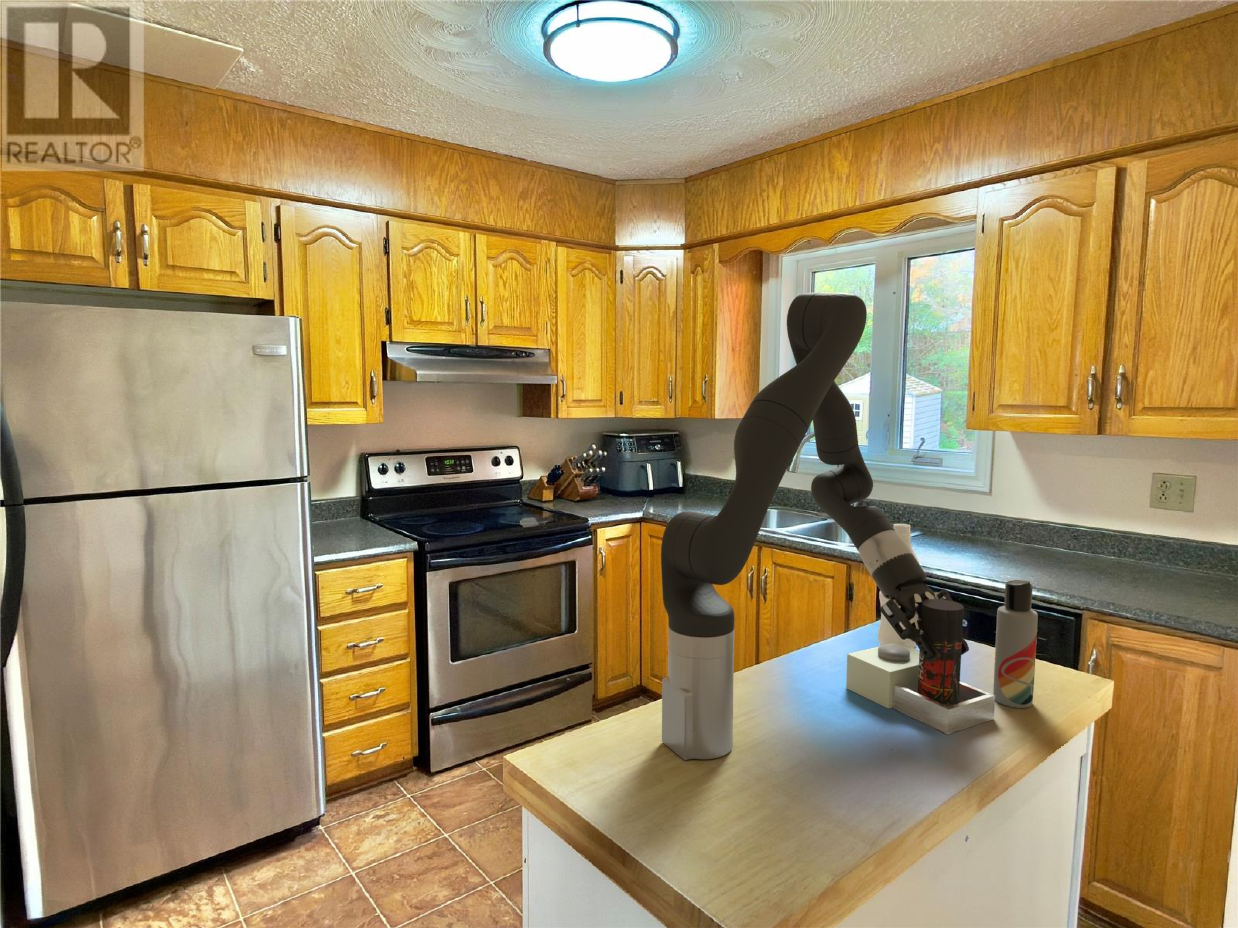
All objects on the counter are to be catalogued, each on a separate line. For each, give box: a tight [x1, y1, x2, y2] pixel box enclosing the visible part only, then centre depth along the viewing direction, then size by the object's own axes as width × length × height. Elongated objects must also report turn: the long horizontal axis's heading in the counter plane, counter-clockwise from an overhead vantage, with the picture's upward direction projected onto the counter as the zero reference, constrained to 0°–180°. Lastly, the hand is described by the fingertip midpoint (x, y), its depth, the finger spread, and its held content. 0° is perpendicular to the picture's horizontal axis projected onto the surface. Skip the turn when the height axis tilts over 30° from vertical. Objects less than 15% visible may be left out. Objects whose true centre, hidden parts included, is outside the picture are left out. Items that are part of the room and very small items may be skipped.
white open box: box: [891, 681, 996, 735], centre depth 111 cm, size 11×10×4 cm
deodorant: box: [918, 599, 965, 706], centre depth 111 cm, size 6×6×15 cm
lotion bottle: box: [992, 579, 1039, 709], centre depth 115 cm, size 6×6×20 cm
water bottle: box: [877, 523, 921, 650], centre depth 136 cm, size 7×7×25 cm
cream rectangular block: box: [845, 642, 920, 709], centre depth 120 cm, size 12×9×7 cm
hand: (949, 656), depth 110 cm, fingers closed on deodorant, 6 cm apart
